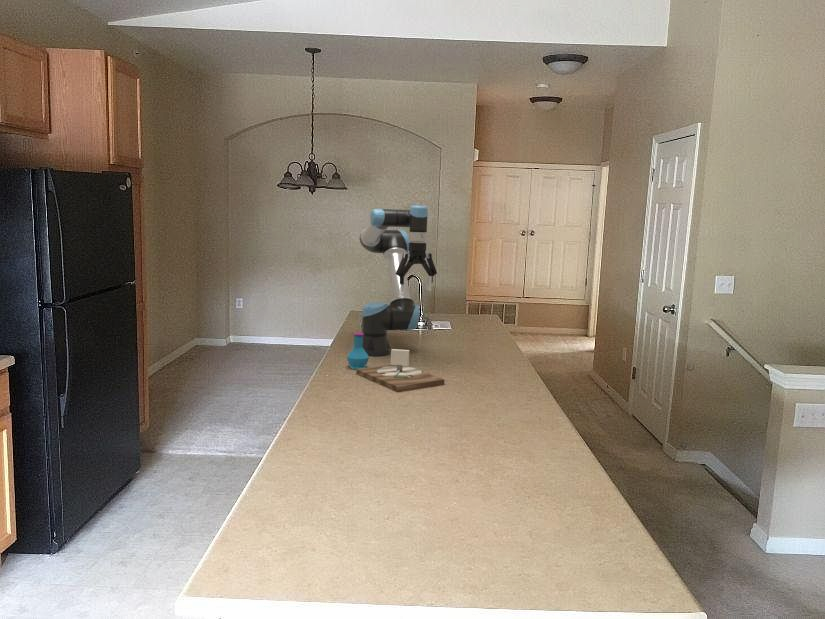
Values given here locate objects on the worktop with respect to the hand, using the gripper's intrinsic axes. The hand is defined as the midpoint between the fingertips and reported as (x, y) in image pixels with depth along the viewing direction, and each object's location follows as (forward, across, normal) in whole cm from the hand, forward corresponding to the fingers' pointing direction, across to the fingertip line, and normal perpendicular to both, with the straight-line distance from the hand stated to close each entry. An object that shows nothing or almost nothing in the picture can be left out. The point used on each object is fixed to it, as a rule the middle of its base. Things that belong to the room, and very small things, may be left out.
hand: (416, 291), depth 286 cm
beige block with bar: (+29, -22, -20) cm, 42 cm away
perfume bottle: (+32, -26, +4) cm, 41 cm away
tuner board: (+32, -21, -20) cm, 43 cm away
